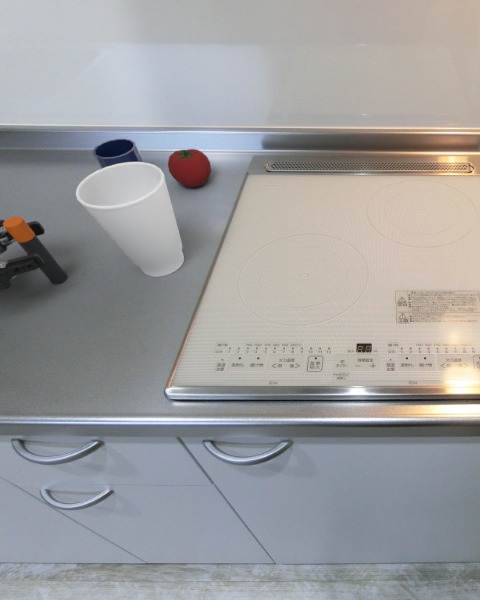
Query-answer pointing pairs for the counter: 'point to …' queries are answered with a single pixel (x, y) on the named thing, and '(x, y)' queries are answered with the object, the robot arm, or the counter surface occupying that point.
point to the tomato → (189, 167)
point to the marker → (34, 248)
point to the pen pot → (117, 152)
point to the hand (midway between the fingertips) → (41, 242)
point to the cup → (135, 214)
